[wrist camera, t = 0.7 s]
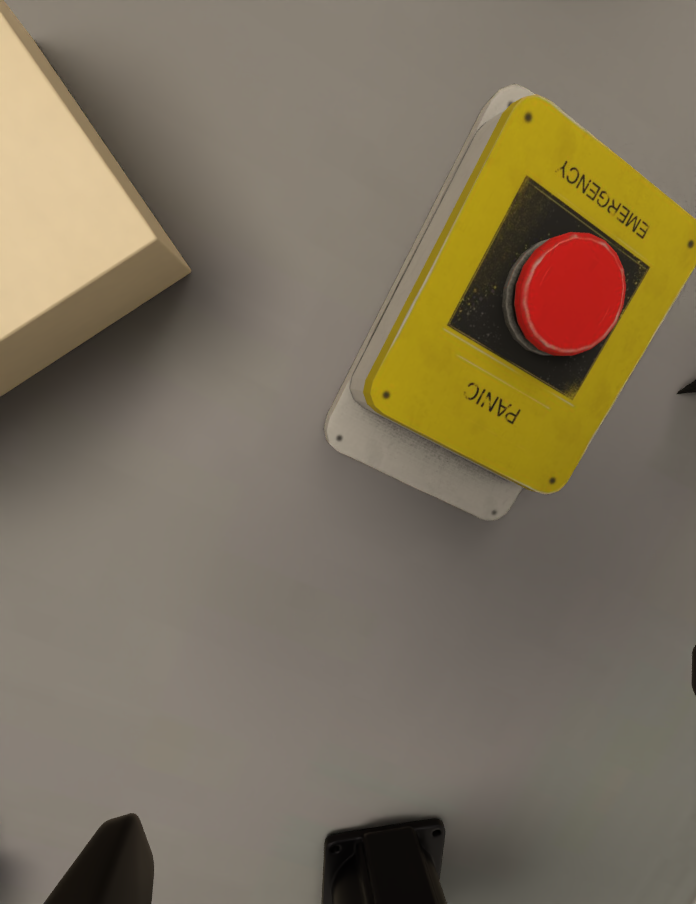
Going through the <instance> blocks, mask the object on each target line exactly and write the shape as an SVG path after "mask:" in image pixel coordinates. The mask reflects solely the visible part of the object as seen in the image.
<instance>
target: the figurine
mask: <svg viewBox="0 0 696 904" xmlns="http://www.w3.org/2000/svg"><path fill="white" fill-rule="evenodd" d="M693 392H696V380H695V381H694V382H692V383H691V384H689V385H687V386H686V387H685V388H683V389H682V390H680V391H679V392H678V393H677V394H681V393H693Z"/></svg>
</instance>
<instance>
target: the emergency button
mask: <svg viewBox="0 0 696 904" xmlns="http://www.w3.org/2000/svg"><path fill="white" fill-rule="evenodd" d="M695 266H696V219H695V218H693V217H692V216H691V215H690V214H689V213H687V212H686V211H685V210H684V209H682V208H681V207H680V206H679V205H678V204H676V203H675V202H674V201H673V200H671V199H670V198H669V197H668V196H667V195H665V194H664V193H663V192H662V191H660V190H659V189H658V188H657V187H656V186H654V185H653V184H652V183H651V182H649V181H648V180H647V179H646V178H645V177H643V176H642V175H641V174H640V173H638V172H637V171H636V170H635V169H633V168H632V167H631V166H630V165H629V164H627V163H626V162H625V161H624V160H622V159H621V158H620V157H619V156H618V155H616V154H615V153H614V152H613V151H611V150H610V149H609V148H608V147H607V146H605V145H604V144H603V143H602V142H600V141H599V140H598V139H597V138H596V137H594V136H593V135H592V134H591V133H589V132H588V131H587V130H586V129H585V128H583V127H582V126H581V125H580V124H578V123H577V122H576V121H575V120H574V119H572V118H571V117H570V116H569V115H567V114H566V113H565V112H564V111H562V110H561V109H560V108H559V107H558V106H556V105H555V104H554V103H553V102H551V101H550V100H549V99H547V98H544V97H542V96H540V95H537V94H535V95H534V94H533V93H532V92H531V91H529V90H528V89H527V88H525V87H522V86H519V85H516V84H512V85H509V86H507V87H504V88H502V89H500V90H499V91H498V92H497V93H496V94H495V95H494V96H493V97H492V98H491V99H490V100H489V101H488V103H487V104H486V105H485V106H484V107H483V109H482V110H481V112H480V114H479V116H478V118H477V120H476V122H475V124H474V126H473V128H472V130H471V132H470V134H469V136H468V138H467V140H466V142H465V144H464V146H463V148H462V150H461V152H460V154H459V156H458V158H457V160H456V162H455V164H454V166H453V167H452V169H451V171H450V173H449V175H448V177H447V179H446V181H445V183H444V185H443V187H442V189H441V191H440V193H439V195H438V197H437V199H436V201H435V203H434V205H433V207H432V209H431V211H430V213H429V215H428V217H427V219H426V221H425V223H424V225H423V227H422V229H421V231H420V233H419V235H418V237H417V239H416V240H415V242H414V244H413V246H412V248H411V250H410V252H409V254H408V256H407V258H406V260H405V262H404V264H403V266H402V268H401V270H400V272H399V274H398V276H397V278H396V280H395V282H394V284H393V286H392V288H391V290H390V292H389V294H388V296H387V298H386V300H385V302H384V304H383V306H382V308H381V310H380V312H379V313H378V315H377V317H376V319H375V321H374V323H373V325H372V327H371V329H370V331H369V333H368V335H367V337H366V339H365V341H364V343H363V345H362V347H361V349H360V351H359V353H358V355H357V357H356V359H355V361H354V363H353V365H352V367H351V369H350V371H349V373H348V375H347V377H346V379H345V381H344V383H343V385H342V386H341V388H340V390H339V392H338V394H337V396H336V398H335V400H334V402H333V404H332V406H331V408H330V410H329V412H328V414H327V417H326V421H325V425H324V431H325V436H326V440H327V441H328V443H329V444H330V445H331V446H333V447H334V448H335V449H336V450H337V451H338V452H340V453H342V454H344V455H346V456H348V457H350V458H352V459H354V460H357V461H359V462H361V463H363V464H365V465H367V466H369V467H372V468H374V469H376V470H378V471H380V472H382V473H384V474H386V475H389V476H391V477H393V478H395V479H397V480H399V481H401V482H403V483H406V484H408V485H410V486H412V487H414V488H416V489H418V490H420V491H423V492H425V493H427V494H429V495H431V496H433V497H435V498H437V499H440V500H442V501H444V502H446V503H448V504H450V505H452V506H454V507H457V508H459V509H461V510H463V511H465V512H467V513H469V514H471V515H474V516H476V517H478V518H480V519H482V520H488V521H494V520H496V519H498V518H500V517H503V516H504V515H505V514H506V513H507V512H508V510H509V509H510V508H511V507H512V505H513V504H514V502H515V500H516V499H517V497H518V495H519V493H520V492H521V490H522V488H523V487H524V488H526V489H528V490H531V491H534V492H538V493H542V494H547V495H549V494H552V493H555V492H558V491H559V490H560V489H561V488H562V487H563V486H564V485H565V484H566V483H567V481H568V480H569V478H570V476H571V475H572V473H573V471H574V470H575V468H576V466H577V465H578V463H579V461H580V460H581V458H582V456H583V454H584V453H585V451H586V449H587V448H588V446H589V444H590V443H591V441H592V439H593V438H594V436H595V434H596V433H597V431H598V429H599V428H600V426H601V424H602V423H603V421H604V419H605V418H606V416H607V414H608V412H609V411H610V409H611V407H612V406H613V404H614V402H615V401H616V399H617V397H618V396H619V394H620V392H621V391H622V389H623V387H624V386H625V384H626V382H627V381H628V379H629V377H630V376H631V374H632V372H633V370H634V369H635V367H636V365H637V364H638V362H639V360H640V359H641V357H642V355H643V354H644V352H645V350H646V349H647V347H648V345H649V344H650V342H651V340H652V339H653V337H654V335H655V334H656V332H657V330H658V328H659V327H660V325H661V323H662V322H663V320H664V318H665V317H666V315H667V313H668V312H669V310H670V308H671V307H672V305H673V303H674V302H675V300H676V298H677V297H678V295H679V293H680V292H681V290H682V288H683V286H684V285H685V283H686V281H687V280H688V278H689V276H690V275H691V273H692V271H693V270H694V268H695Z"/></svg>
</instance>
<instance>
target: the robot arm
mask: <svg viewBox="0 0 696 904" xmlns="http://www.w3.org/2000/svg"><path fill="white" fill-rule="evenodd" d="M692 688H693V691H694V693H695V695H696V645H695V647H694V648H693V652H692ZM444 838H445V828H444V825H443V823H442V821H441V820H440V819H428V820H422V821H415V822H409V823H402V824H396V825H389V826H383V827H376V828H370V829H364V830H357V831H351V832H344V833H338V834H333V835H330V836H329V837H327V838H326V840H325V843H324V863H323V885H322V904H447V902H446V899H445V896H444V893H443V890H442V887H441V884H440V881H439V879H440V871H441V863H442V855H443V847H444ZM153 879H154V861H153V855H152V852H151V849H150V846H149V843H148V841H147V838H146V835H145V832H144V830H143V827H142V824H141V822H140V819H139V817H138V816H137V815H136V814H134V813H130V814H127V815H123V816H120V817H117V818H113V819H110V820H108V821H106V822H104V823H103V824H102V825H101V826H100V828H99V829H98V830H97V831H96V833H95V834H94V836H93V837H92V838H91V840H90V841H89V842H88V844H87V845H86V846H85V848H84V849H83V851H82V852H81V853H80V855H79V856H78V857H77V859H76V860H75V861H74V863H73V864H72V866H71V867H70V868H69V870H68V871H67V872H66V874H65V875H64V876H63V878H62V879H61V880H60V882H59V883H58V885H57V886H56V887H55V889H54V890H53V891H52V893H51V894H50V895H49V897H48V898H47V900H46V901H45V902H44V904H151V901H152V890H153Z"/></svg>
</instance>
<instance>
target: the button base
mask: <svg viewBox="0 0 696 904" xmlns="http://www.w3.org/2000/svg"><path fill="white" fill-rule="evenodd" d="M189 273H191V269H190V268H189V266H188V265H187V263H186V262H185V260H184V259H183V258H182V256H181V255H180V253H179V252H178V250H177V249H176V247H175V246H174V244H173V243H172V241H171V240H170V239H169V237H168V236H167V234H166V233H165V231H164V230H163V228H162V227H161V225H160V224H159V223H158V221H157V220H156V218H155V217H154V215H153V214H152V212H151V211H150V209H149V208H148V206H147V205H146V204H145V202H144V201H143V199H142V198H141V196H140V195H139V193H138V192H137V190H136V189H135V187H134V186H133V185H132V183H131V182H130V180H129V179H128V177H127V176H126V174H125V173H124V171H123V170H122V168H121V167H120V166H119V164H118V163H117V161H116V160H115V158H114V157H113V155H112V154H111V152H110V151H109V149H108V148H107V147H106V145H105V144H104V142H103V141H102V139H101V138H100V136H99V135H98V133H97V132H96V130H95V129H94V128H93V126H92V125H91V123H90V122H89V120H88V119H87V117H86V116H85V114H84V113H83V112H82V110H81V109H80V107H79V106H78V104H77V103H76V101H75V100H74V98H73V97H72V95H71V94H70V93H69V91H68V90H67V88H66V87H65V85H64V84H63V82H62V81H61V79H60V78H59V76H58V75H57V74H56V72H55V71H54V69H53V68H52V66H51V65H50V63H49V62H48V60H47V59H46V57H45V56H44V55H43V53H42V52H41V50H40V49H39V47H38V46H37V44H36V43H35V41H34V40H33V38H32V37H31V36H30V34H29V33H28V32H27V31H26V29H25V28H24V27H23V25H22V24H21V23H20V21H19V20H18V19H17V17H16V16H15V15H14V13H13V12H12V11H11V10H10V8H9V7H8V6H7V4H6V3H5V2H4V0H0V397H1V396H2V395H4V394H5V393H7V392H8V391H10V390H12V389H13V388H15V387H16V386H18V385H19V384H21V383H22V382H24V381H25V380H27V379H28V378H30V377H31V376H33V375H34V374H36V373H38V372H39V371H41V370H42V369H44V368H45V367H47V366H48V365H50V364H51V363H53V362H54V361H56V360H57V359H59V358H61V357H62V356H64V355H65V354H67V353H68V352H70V351H71V350H73V349H74V348H76V347H77V346H79V345H80V344H82V343H84V342H85V341H87V340H88V339H90V338H91V337H93V336H94V335H96V334H97V333H99V332H100V331H102V330H103V329H105V328H106V327H108V326H110V325H111V324H113V323H114V322H116V321H117V320H119V319H120V318H122V317H123V316H125V315H126V314H128V313H129V312H131V311H133V310H134V309H136V308H137V307H139V306H140V305H142V304H143V303H145V302H146V301H148V300H149V299H151V298H152V297H154V296H156V295H157V294H159V293H160V292H162V291H163V290H165V289H166V288H168V287H169V286H171V285H172V284H174V283H175V282H177V281H178V280H180V279H182V278H183V277H185V276H186V275H188V274H189Z"/></svg>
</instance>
